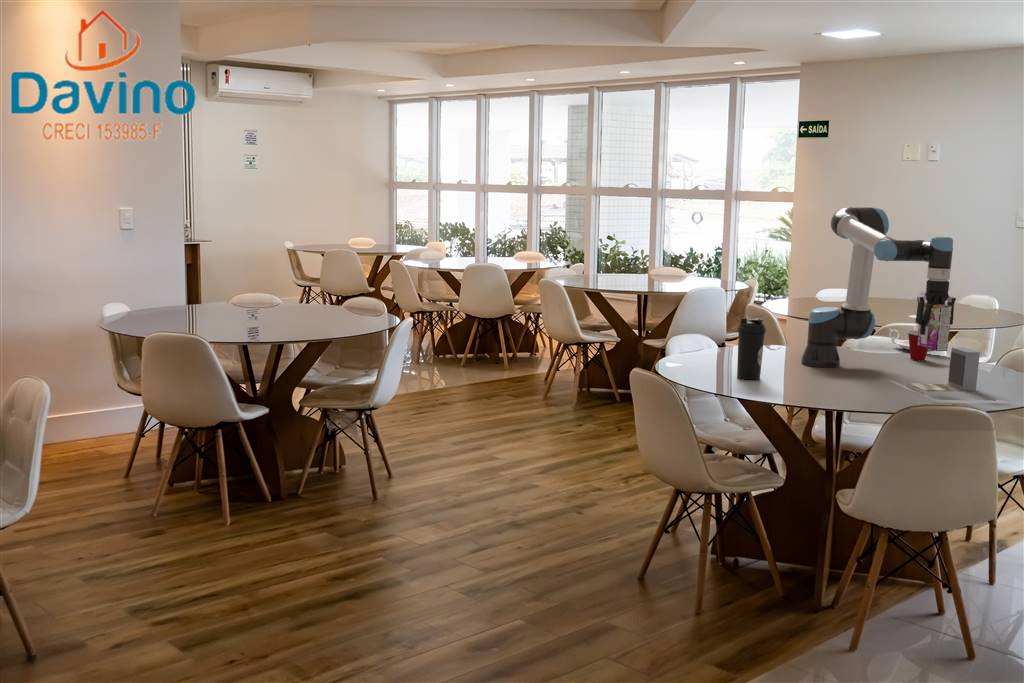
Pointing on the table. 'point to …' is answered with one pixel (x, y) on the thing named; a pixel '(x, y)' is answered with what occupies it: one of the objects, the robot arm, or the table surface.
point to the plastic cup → (916, 347)
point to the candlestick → (905, 343)
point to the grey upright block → (963, 368)
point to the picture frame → (935, 387)
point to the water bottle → (750, 349)
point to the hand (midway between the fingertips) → (932, 343)
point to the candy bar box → (937, 328)
